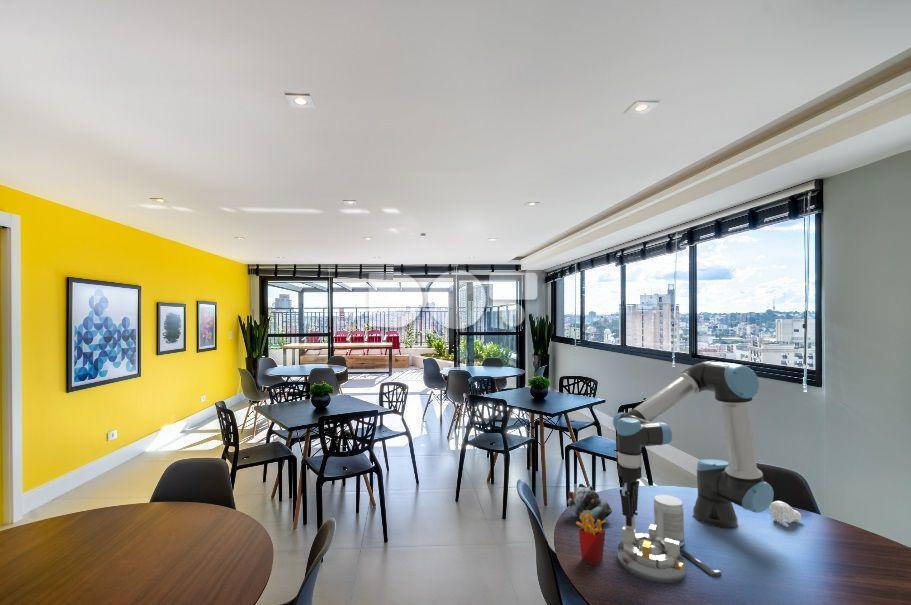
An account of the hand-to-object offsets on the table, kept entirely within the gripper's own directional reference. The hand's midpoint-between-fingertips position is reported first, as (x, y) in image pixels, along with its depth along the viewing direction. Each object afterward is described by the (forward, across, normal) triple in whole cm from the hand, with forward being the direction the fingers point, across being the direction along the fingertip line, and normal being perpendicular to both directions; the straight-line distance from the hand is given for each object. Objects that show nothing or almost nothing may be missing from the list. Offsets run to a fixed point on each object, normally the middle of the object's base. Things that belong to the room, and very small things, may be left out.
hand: (630, 534), depth 139 cm
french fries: (+7, +12, -10) cm, 17 cm away
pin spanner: (+7, -10, +18) cm, 22 cm away
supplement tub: (+7, -19, +7) cm, 22 cm away
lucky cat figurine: (+7, -14, -21) cm, 27 cm away
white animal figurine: (+8, -66, +38) cm, 76 cm away
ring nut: (+4, 0, +6) cm, 8 cm away
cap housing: (+7, 0, +6) cm, 10 cm away
